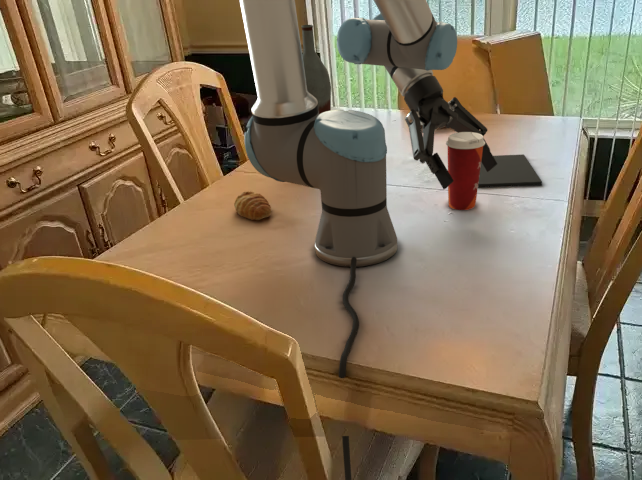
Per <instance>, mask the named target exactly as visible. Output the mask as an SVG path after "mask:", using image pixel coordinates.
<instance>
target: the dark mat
mask: <svg viewBox="0 0 642 480" xmlns="http://www.w3.org/2000/svg"><path fill="white" fill-rule="evenodd" d="M493 157H494V159H495V160H496V162H497V165H496V166H495V167H493V168H492V169H491V170H490V171H488V172H487V171H486V169H485V167H484V166H483V164H482V162H481V167H480V175H479V182H478V189H480V188H505V187H528V186H529V187H531V186H542V185H543V180H542V179H541V177H540V176H539V175H538V174H537V171H536V170H535V169H534V167H533V166H532V164H531V163H530V161H529V160H528V158H527V156H526V155H525V154H522V153H521V154H504V155H503V154H501V155H493Z"/></svg>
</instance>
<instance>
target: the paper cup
mask: <svg viewBox="0 0 642 480" xmlns="http://www.w3.org/2000/svg"><path fill="white" fill-rule="evenodd" d="M483 137H484V136H483V135H481V134H479V133H475V132H472V133H471V132H459V133H458V132H454V133H452V134H449V135H448V138H447V141H445V145H446V146H447V170H448V172H449V174H450V175H451V177H452V179H453V180H454V181H453V182H452V183H451V184H450V185H449V186H448V187H447V193H448V194H447V195H448V196H447V197H448V207H449V208H450V209H453V210H457V211H468V210H472V209H473V208H475V207H476V203H477V196H478V191H479V187H478V182H479V175H480V167H481V159H482V152H483V146H484V145H485V141H486V140H485V141H484V139H485V138H484V139H483Z"/></svg>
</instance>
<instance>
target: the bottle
mask: <svg viewBox="0 0 642 480" xmlns="http://www.w3.org/2000/svg"><path fill="white" fill-rule="evenodd" d="M300 28H301V33H302V35H301V37H302V46H303V47H302V49H303V50H302V57H303V64H304V71H305V79H306V86H307V91H308V92H309V93H310V94H311V95H312V96H314V97H315V98H316V99H317V102H318V110H319V114H321V113H323V112H326V111H330V110H332V101H331V100H332V83H331V78H330V74H329V70H328V69H327V67H326V66H325V64H324V62H323V61H322V59H321V58H320V57H319V55H318V54H317V52H316V47H315V38H314V25H313V24H303V25H301V27H300Z"/></svg>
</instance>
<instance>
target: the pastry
mask: <svg viewBox="0 0 642 480" xmlns="http://www.w3.org/2000/svg"><path fill="white" fill-rule="evenodd" d="M233 206H234V208H235V211H236V213H237V214H238V215H239V216H241V217H244V218H245V219H248V220H251V221H252V220H256V221H260V220H262V219H265V218H268V217H271V214H272V213H273V211H272V208H271V205H270V203H269V200H267V198H265V196H264V195H262V194H261V193H257V192H256V193H255V192H254V191H249V190H248V191H244V192H242V193H240V194H239V195H238V196H237V197H236V198H235V199H234V203H233Z"/></svg>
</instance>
